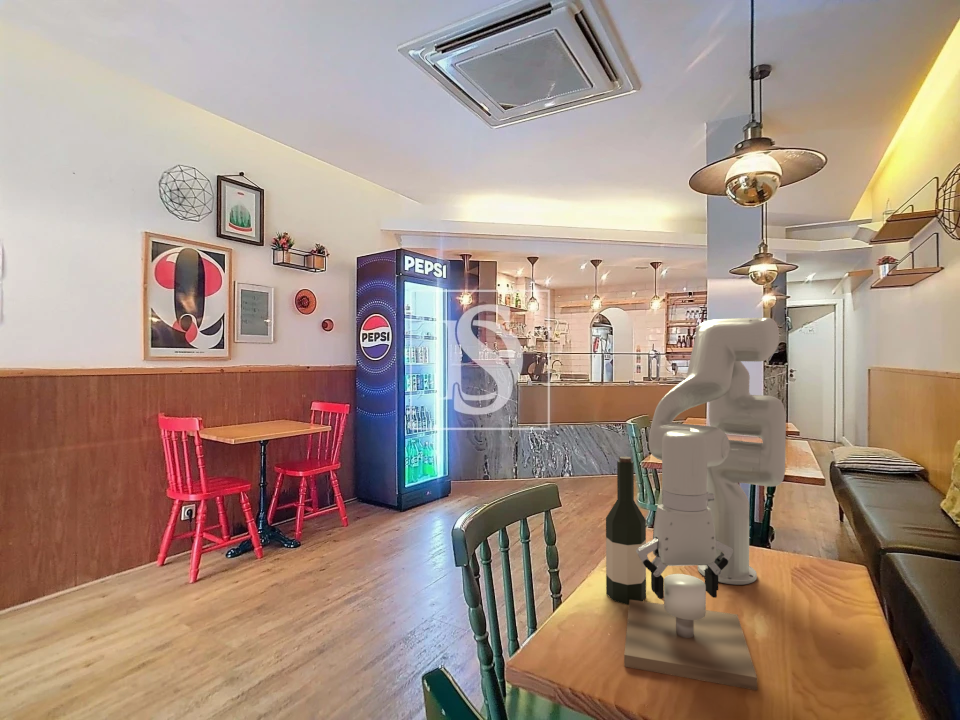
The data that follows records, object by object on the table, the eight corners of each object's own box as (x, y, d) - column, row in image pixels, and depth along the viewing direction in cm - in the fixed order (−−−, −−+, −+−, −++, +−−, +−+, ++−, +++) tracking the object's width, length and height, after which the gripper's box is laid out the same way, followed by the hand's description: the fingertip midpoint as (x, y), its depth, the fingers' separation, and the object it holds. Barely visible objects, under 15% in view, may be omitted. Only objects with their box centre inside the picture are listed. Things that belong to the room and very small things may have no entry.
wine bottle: (648, 606, 107) (647, 462, 106) (607, 602, 109) (606, 461, 108) (643, 587, 115) (643, 454, 115) (605, 584, 117) (604, 453, 116)
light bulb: (676, 592, 100) (675, 566, 100) (714, 614, 91) (714, 586, 91) (647, 600, 97) (647, 573, 97) (684, 623, 89) (684, 594, 89)
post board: (629, 609, 106) (629, 580, 106) (737, 624, 100) (737, 594, 100) (624, 666, 87) (624, 631, 87) (757, 690, 81) (757, 652, 81)
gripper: (721, 493, 97) (721, 584, 97) (629, 495, 96) (630, 586, 97) (743, 505, 89) (743, 603, 90) (643, 507, 89) (644, 606, 89)
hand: (684, 594), depth 93 cm, fingers open, 9 cm apart
